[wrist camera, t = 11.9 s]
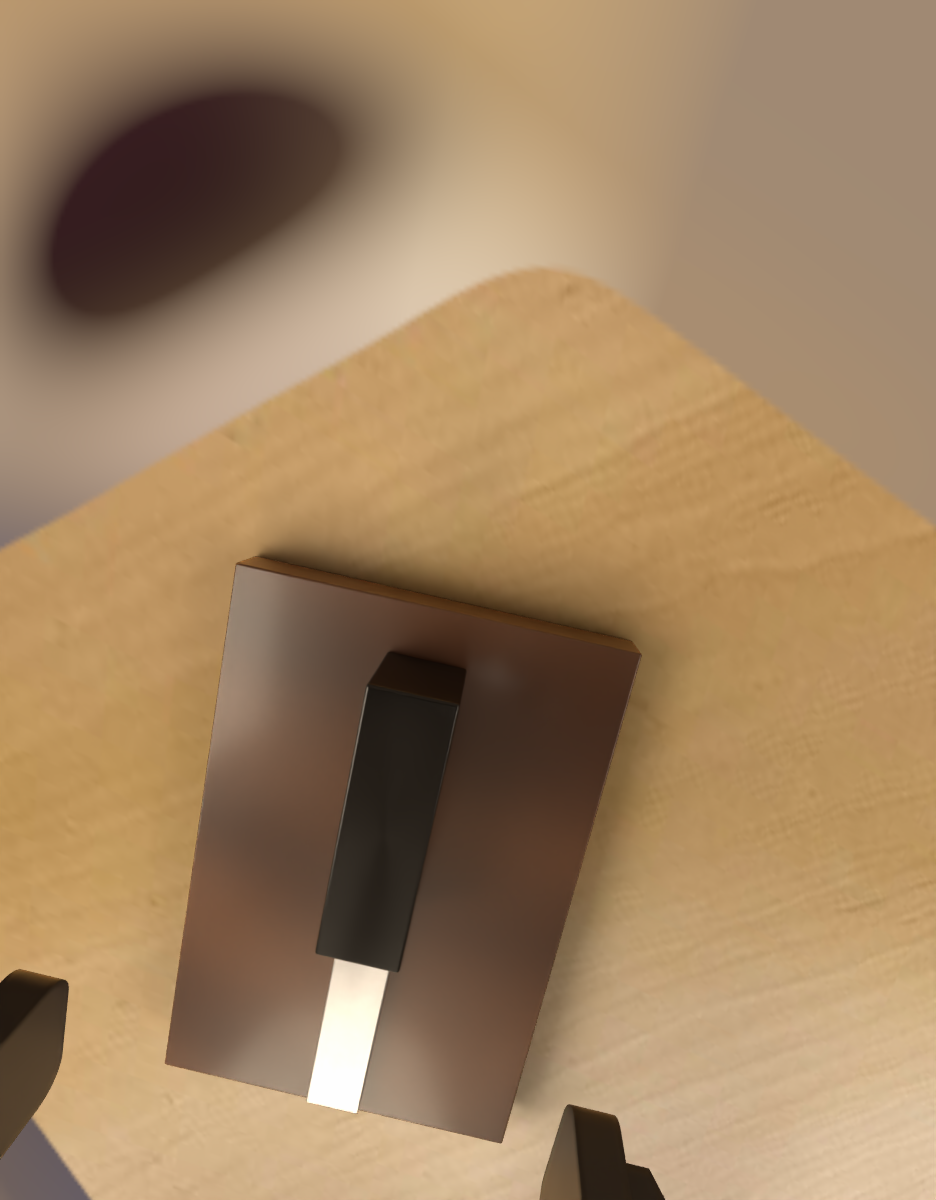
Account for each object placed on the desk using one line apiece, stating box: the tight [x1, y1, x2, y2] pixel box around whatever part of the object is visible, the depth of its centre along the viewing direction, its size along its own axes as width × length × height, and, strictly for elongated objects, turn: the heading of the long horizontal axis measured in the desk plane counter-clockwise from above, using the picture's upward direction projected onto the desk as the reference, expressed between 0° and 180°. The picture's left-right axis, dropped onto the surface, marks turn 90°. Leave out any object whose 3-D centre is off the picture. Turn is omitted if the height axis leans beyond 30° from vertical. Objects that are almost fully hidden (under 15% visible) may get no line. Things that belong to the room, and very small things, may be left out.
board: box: [165, 556, 642, 1143], centre depth 21 cm, size 18×12×2 cm, turn 168°
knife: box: [306, 652, 467, 1114], centre depth 19 cm, size 16×2×3 cm, turn 168°
